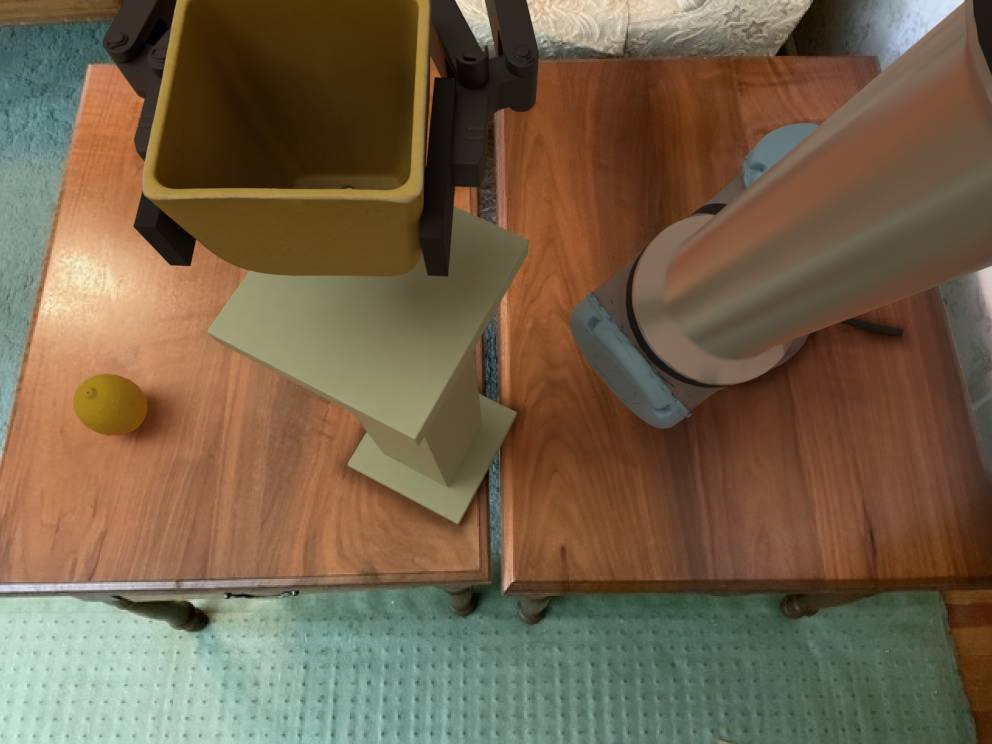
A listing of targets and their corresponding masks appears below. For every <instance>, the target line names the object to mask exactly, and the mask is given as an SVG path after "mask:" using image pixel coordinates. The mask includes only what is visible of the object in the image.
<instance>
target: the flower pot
mask: <svg viewBox="0 0 992 744" xmlns="http://www.w3.org/2000/svg"><path fill="white" fill-rule="evenodd" d="M430 43H431V0H177V2H176V7H175V11H174V17H173V21H172V28H171V33H170V40H169V45H168V49H167V55H166V60H165V66H164V71H163V77H162V83H161V87H160V92H159V97H158V102H157V107H156V111H155V116H154V120H153V124H152V129H151V134H150V139H149V144H148V147H147V152H146V158H145V162H144V161H143V168H142V177H141V187H142V190H143V193H144V195H145V196H146V197H147V198H148V199H149V200H150V201H152V202H153V203H154V204H155V205H156V206H158V207H159V208H160V209H161V210H162V211H163V212H165V213H166V214H167V215H168V216H169V217H170V218H172V219H173V220H174V221H175V222H176V223H177V224H179V225H180V226H181V227H182V228H183V229H184V230H185V231H187V232H188V233H189V234H190V235H191V236H193V237H194V238H195V239H196V242H197V241H198V242H199V244H201V245H202V246H203V247H205V248H206V249H207V250H208V251H210V252H211V253H212V254H213V255H215V256H216V257H218V258H219V259H221V260H223V261H224V262H226V263H228V264H230V265H232V266H234V267H237V268H240V269H243V270H246V271H248V272H249V271H254V272H259V273H264V274H272V275H288V276H381V277H382V276H399V275H402V274H406V273H408V272H409V271H411V270H412V269H413V268H414V267H415V266H416V265H417V263H418V261H419V259H420V257H421V254H422V248H421V244H420V239H419V234H420V224H421V214H422V211H423V205H424V182H425V171H426V161H427V150H428V136H429V119H430V118H429V116H430V115H429V114H430V104H431V103H430V101H431V56H430ZM347 188H351V189H347ZM142 190H141V191H142Z"/></svg>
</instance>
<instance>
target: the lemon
mask: <svg viewBox="0 0 992 744" xmlns="http://www.w3.org/2000/svg"><path fill="white" fill-rule="evenodd" d="M72 404H73V410H74V412H75V414H76V416H77V418H78V419H79V420H80V422H81V423H82V424H83V425H84V426H85V427H87V429H90V431H93V432H95V433H97V434H100V435H104V436H110V437H113V436H114V437H115V436H116V437H119V436H123V435H128V434H129V433H132V432H133V431H136V429H138V428H139V427H140V426H141V425H142V424H143V422H144V420H145V419H146V417H147V413H148V409H149V408H148V406H149V405H148V401H147V396H146V394H145V393H144V392H143V390H142V388H141V387H140V386H139V385H138V384H136V383H135V382H134V381H133V380H131V379H129V378H126V377H124V376H122V375H118V374H110V373H102V374H97V375H93V376H90V377H88V378H87V379H85V380H84V381H83V382H82V383H81V384H80V385H79V386H78V388H77V389H76V390H75V393H74V395H73V400H72Z"/></svg>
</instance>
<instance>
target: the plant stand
mask: <svg viewBox="0 0 992 744" xmlns="http://www.w3.org/2000/svg"><path fill="white" fill-rule="evenodd" d="M347 189H351V188H347ZM529 245H530V240H529V239H528V238H526V237H524V236H522V235H520V234H517V233H515V232H513V231H510V230H509V229H506V228H504V227H502V226H499V225H497V224H495V223H492V222H490V221H488V220H486V219H484V218H483V217H480V216H477V215H475V214H473V213H471V212H468V211H466V210H464V209H462V208H459V207H457V206H455V205H454V209H453V222H452V235H451V248H450V260H449V273H448V277H447V276H428V275H427V271H426V266H425V262H424V257H423V253H422V254H421V257H420V259H419V261H418V263H417V265H416V266H415V267H414V268H413V269H412V270H411V271H409V272H408V273H406V274H402V275H399V276H382V277H381V276H288V275H272V274H264V273H259V272H254V271H249V270H248V272H247V273H246V275H245V276H244V278H243V279H242V281H240V283H239V285H238V286H237V288H236V289H235V290H234V292H233V293H232V295H230V298H228V300H227V302H226V303H225V305H224V306H223V307H222V309H221V310H220V311H219V313H218V315H217V316H216V317H215V318H214V320H213V322H212V323H211V325H210V326H209V327H208V329H207V330H206V333H207V334H208V335H209V336H210V337H211V338H212V339H213V340H214V341H215V342H216V343H217V344H220V345H221V346H223V347H225V348H227V349H230V350H231V351H233V352H235V353H237V354H239V355H240V356H243V357H245V358H246V359H248V360H250V361H251V362H254V363H256V364H258V365H260V366H262V367H264V368H266V369H267V370H269V371H272V372H273V373H275V374H278V375H279V376H280V377H283V378H285V379H287V380H288V381H291V382H293V383H294V384H296V385H298V386H301V387H302V388H304V389H306V390H308V391H310V392H311V393H314V394H316V395H317V396H320V397H322V398H324V399H326V400H328V401H329V402H331V403H333V404H335V405H337V406H339V407H341V408H342V409H345V410H347V411H349V412H351V413H352V414H353V416H354V417H355V419H357V421H358V422H359V424H360V425H361V426H362V428H363V429H364V430H365V431H366V432H365V433H364V435H363V437H362V439H361V441H360V442H359V444H358V446H357V447H356V449H355V450H354V453H353V454H352V455H351V457H350V459H349V461H348V462H347V467H349V468H350V469H352V470H354V471H356V472H358V473H360V474H361V475H364V476H365V477H367V478H369V479H371V480H373V481H375V482H377V483H378V484H380V485H382V486H384V487H386V488H387V489H390V490H392V491H394V492H395V493H397V494H399V495H401V496H402V497H404V498H406V499H408V500H410V501H411V502H414V503H416V504H418V505H420V506H421V507H422V508H426V509H427V510H428V511H431V512H433V513H434V514H437V515H438V516H439V517H441V518H444V519H446V520H448V521H450V522H451V523H453V524H455V525H457V526H459V525H460V524H461V522H462V520H463V519H464V517H465V515H466V513H467V511H468V509H469V507H470V505H471V503H472V501H473V499H474V498H475V496H476V494H477V492H478V490H479V488H480V486H481V484H482V482H483V480H484V479H485V476H486V475H487V473H488V471H489V470H490V467H491V465H492V463H493V462H494V459H496V456H497V454H498V452H499V450H500V448H501V447H502V444H503V442H504V441H505V440H506V437H507V435H508V433H509V431H510V430H511V427H512V425H513V424H514V422H515V420H516V418H517V416H518V412H517V411H515V410H513V409H511V408H509V407H507V406H505V405H503V404H501V403H499V402H497V401H495V400H493V399H491V398H489V397H486V396H485V395H483V394H481V393H480V392H479V381H478V373H477V364H476V355H475V354H476V353H475V348H477V347H476V346H477V345H478V343H479V341H480V339H481V338H482V336H483V334H484V333H485V331H486V329H487V327H488V325H489V324H490V321H492V319H493V317H494V315H495V313H496V311H497V309H498V307H499V306H500V304H501V302H502V301H503V299H504V297H505V295H506V293H507V292H508V290H509V288H510V287H511V285H512V283H513V282H514V279H515V278H516V277H517V274H518V273H519V271H520V269H521V267H522V265H523V264H524V262H525V260H526V258H527V257H528V255H529Z"/></svg>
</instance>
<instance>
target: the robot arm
mask: <svg viewBox="0 0 992 744" xmlns="http://www.w3.org/2000/svg"><path fill="white" fill-rule="evenodd" d="M176 2H177V0H124V1H123V3H122V5H121V6H120V8H119V10H118V11H117V13H116V14H115V17H114V19H113V20H112V22H111V24H110V25H109V27H108V29H107V31H106V32H105V34H104V36H103V38H102V41H101V42H102V47H103V49H104V50H105V52H106V53H107V54H108V56H109V57H110V58H111V60H112V62H113V63H114V64H115V66H116V67H117V69H118V70H119V72H120V73H121V74H122V76H123V77H124V79H125V80H126V81H127V83H128V84H129V85H130V87H131V88H132V90H133V91H134V92H135V94H136V96H138V97H139V98H141V99H143V103H142V109H141V112H140V115H139V116H140V117H139V120H138V123H137V127H136V130H135V134H134V139H133V141H134V146H135V147H134V148H135V151H136V152H135V153H137V154H138V156H139V157H140V158H141V159H142V161H143V163H144V162H145V158H146V152H147V147H148V144H149V139H150V134H151V129H152V124H153V120H154V116H155V111H156V107H157V102H158V97H159V92H160V87H161V83H162V77H163V71H164V66H165V60H166V55H167V49H168V45H169V40H170V33H171V28H172V21H173V17H174V11H175V7H176ZM484 3H485V8H486V9H485V10H486V13H487V19H488V24H489V27H490V32H491V37H492V41H493V46H494V52H495V57H492V58H490V53H489V51H490V50H489V47H488V44H486V45H484V51H483V50H482V48H481V45H480V44H479V42H478V40H477V39H476V36H475V35H474V33H473V31H472V29H471V27H470V25H469V23H468V22H467V20H466V17H465V16H464V14H463V12H462V10H461V8H460V6H459V5H458V3H457V1H456V0H431V43H430V59H431V60H432V62H433V64H434V66H435V68H436V70H437V72H438V74H439V76H434V78H433V89H432V97H431V98H432V99H431V111H430V118H429V119H430V121H429V128H428V139H427V153H426V171H425V182H424V205H423V211H422V214H421V224H420V234H419V239H420V244H421V248H422V253H423V257H424V262H425V266H426V271H427V275H428V276H447V277H448V273H449V260H450V248H451V235H452V222H453V209H454V206H455V195H456V188H476V189H477V188H478V189H479V188H480V187H481V185H482V184H483V181H484V180H485V178H486V173H487V156H488V140H489V125H490V120H491V118H492V117H493V116H494V115H495V114H496V113H497V112H500V111H501V110H505V109H510V110H511V111H513V112H516V113H525V112H529V111H530V110H532V109H533V108H534V107H535V105H536V103H537V92H538V77H539V59H540V58H539V57H540V50H539V47H538V43H537V38H536V34H535V30H534V26H533V22H532V17H531V13H530V9H529V5H528V4H529V3H528V0H484ZM137 206H138V207H137V210H136V215H135V218H134V223H133V226H132V227H133V229H135V231H137V232H138V233H139V235H140V236H141V237H142V238H143V239H144V240H145V241H146V242H147V243H148V244H149V245H150V246H151V247H152V248H153V250H155V251H156V252H157V253H158V255H160V256H161V258H162V259H163V260H165V262H166V263H167V264H168V265H169V266H175V267H191V266H192V262H193V258H194V253H195V247H196V243H197V240H196V239H195V238H194V237H193V236H191V235H190V234H189V233H188V232H187V231H185V230H184V229H183V228H182V227H181V226H180V225H179V224H177V223H176V222H175V221H174V220H173V219H172V218H170V217H169V216H168V215H167V214H166V213H165V212H163V211H162V210H161V209H160V208H159V207H158V206H156V205H155V204H154V203H153V202H152V201H150V200H149V199H148V198H147V197H146V196H145V195H144V193H143V190H141V195H140V199H139V203H138V205H137ZM990 267H992V0H964V1H963V2H962V3H960V4H959V5H958V6H957V7H955V9H953V10H952V11H951V12H950V13H949V14H948V15H946V16H945V17H944V18H943V19H942V20H940V22H939V23H937V24H936V25H935V26H933V27H932V28H931V29H930V30H929V31H927V33H925V35H923V36H922V37H921V38H919V39H918V40H917V41H916V42H915V43H914V44H912V45H911V46H910V47H909V48H908V49H907V50H906V51H905V52H903V53H902V54H901V55H900V56H899V57H898V58H897V59H895V60H894V61H893V62H891V64H889V65H888V66H887V67H886V68H885V69H884V70H882V71H881V72H880V73H879V74H877V76H875V77H874V78H873V79H871V81H870V82H869V83H867V84H866V85H865V86H864V87H863V88H861V90H859V91H858V92H857V93H856V94H854V95H853V96H852V97H851V98H850V99H848V101H846V102H845V103H843V105H842V106H841V107H839V108H838V109H837V110H835V112H833V113H832V114H831V115H830V116H829V117H828V118H827V119H825V120H824V121H823V122H822V123H821V124H817V123H814V122H799V123H798V122H797V123H790V124H786V125H784V126H780V127H778V128H775V129H774V130H771V131H770V132H769V133H767V134H766V135H764V136H763V137H762V138H761V139H760V140H759V141H758V142H757V143H756V145H755V146H754V147H752V148H751V149H750V150H749V151H748V154H747V155H745V157H744V160H743V162H742V166H741V170H740V171H739V172H738V174H737V175H736V176H735V177H734V179H732V180H731V182H729V183H728V184H727V185H726V186H724V187H723V188H722V189H721V190H720V191H718V192H717V193H716V194H715V195H714V196H712V197H711V198H710V199H708V201H706V202H705V203H704V204H702V205H701V206H700V207H699V208H698V209H696V210H695V211H694V212H692V213H691V214H690V215H689V216H688V217H686V218H683V219H681V220H679V221H675V222H674V223H672V224H671V225H669V226H667V227H665V228H664V229H663V230H662V231H660V232H659V233H658V234H657V235H655V237H653V238H652V240H650V241H649V242H648V243H647V244H646V245H645V246H644V247H643V248H642V249H641V250H640V251H639V252H638V253H636V255H634V256H633V258H632V259H631V260H630V261H629V262H627V263H626V264H625V265H624V266H623V267H622V268H621V269H620V270H618V271H617V272H616V273H615V274H613V275H612V276H611V277H610V278H609V279H608V280H606V281H605V282H604V283H602V284H601V285H599V287H597V288H596V289H594V290H590V291H588V292H587V293H586V297H584V298H583V299H582V300H581V301H580V302H579V303H578V304H577V305H576V306H574V307H573V309H572V310H571V312H570V315H569V328H570V331H571V334H572V336H573V339H574V341H575V343H576V345H577V346H578V349H579V350H580V352H581V353H582V355H583V357H584V358H585V360H586V361H587V362H588V364H589V365H590V367H591V368H592V370H593V371H594V372H595V373H596V375H597V376H598V378H599V379H600V380H601V382H603V383H604V385H605V386H606V387H607V388H608V389H609V390H610V392H612V393H613V395H614V396H615V397H616V398H617V399H618V400H619V401H620V402H621V403H622V404H623V405H624V406H625V407H626V408H627V409H628V410H629V411H631V412H632V413H633V414H634V415H635V416H636V417H638V418H639V419H640V420H641V421H643V422H644V423H646V424H648V425H649V426H651V427H654V428H657V429H661V430H662V429H663V430H665V429H671V428H673V427H674V426H675V425H677V424H678V423H679V422H681V421H683V420H684V419H685V418H690V417H691V416H692V415H693V413H692V411H693V410H694V409H696V407H698V406H699V405H700V404H702V403H703V402H704V401H705V400H707V399H708V398H709V397H711V396H712V395H714V394H715V393H716V392H718V391H720V390H723V389H727V388H730V387H733V386H736V385H737V386H738V385H739V384H743V383H746V382H749V381H752V380H754V379H756V378H758V377H761V376H762V375H764V374H765V373H768V372H771V371H772V370H773V371H774V370H775V369H778V368H779V367H780V366H782V365H784V364H785V363H786V362H787V361H789V360H790V359H791V358H792V357H793V356H795V355H796V353H798V352H799V351H800V349H801V348H802V347H803V346H804V344H805V342H806V341H807V340H808V338H809V336H810V334H813V333H814V332H818V331H820V330H823V329H825V328H828V327H830V326H833V325H836V324H839V323H840V324H844V325H847V326H850V327H855V328H858V329H862V330H866V331H869V332H873V333H876V334H877V333H878V334H881V335H888V336H893V337H902V336H903V335H904V328H903V327H894V326H888V325H882V324H877V323H874V322H871V321H870V322H869V321H867V320H866V321H865V320H863V319H859V318H855V317H858V316H861V315H863V314H866V313H869V312H872V311H874V310H877V309H880V308H882V307H885V306H888V305H890V304H893V303H896V302H898V301H901V300H904V299H907V298H909V297H912V296H915V295H918V294H920V293H923V292H926V291H928V290H931V289H934V288H937V287H939V286H942V285H945V284H947V283H950V282H952V281H955V280H959V279H961V278H964V277H965V276H969V275H971V274H975V273H977V272H980V271H982V270H985V269H987V268H990Z"/></svg>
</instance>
